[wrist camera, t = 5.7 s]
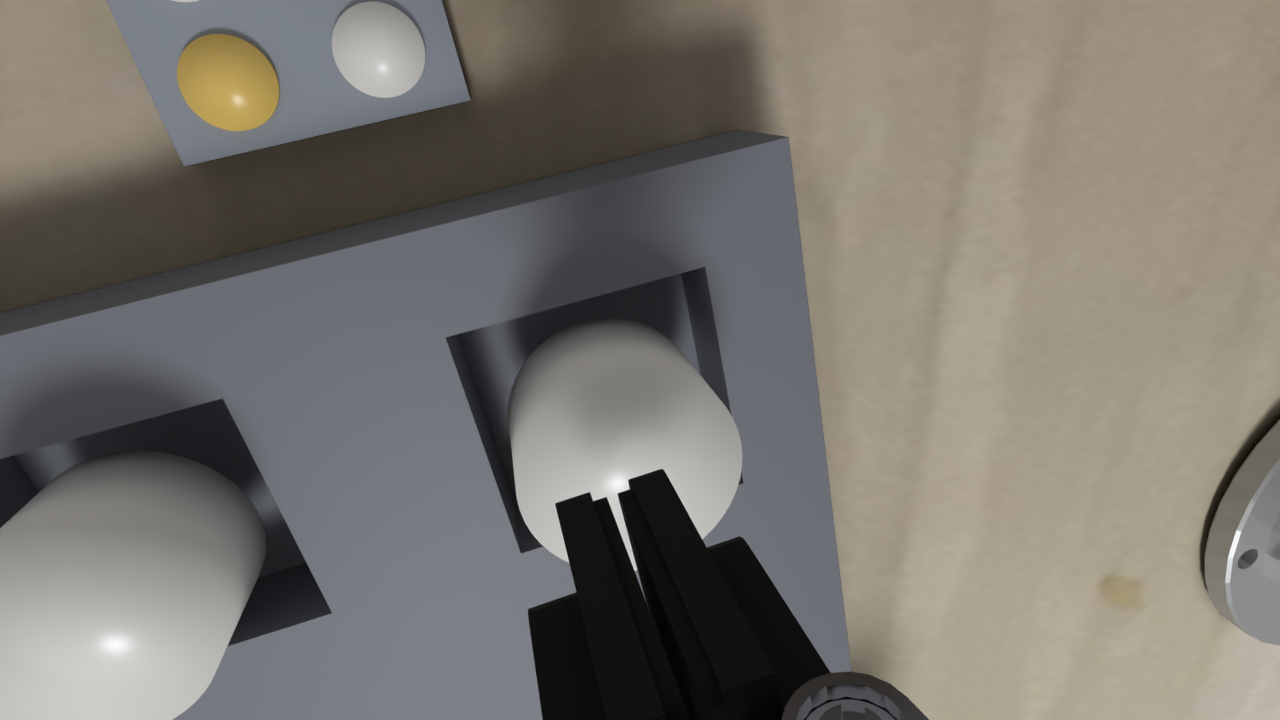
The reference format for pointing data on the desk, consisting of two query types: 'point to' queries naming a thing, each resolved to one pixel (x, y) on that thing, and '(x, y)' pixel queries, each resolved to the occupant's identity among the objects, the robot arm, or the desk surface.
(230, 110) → the pattern card
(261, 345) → the board
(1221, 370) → the desk surface
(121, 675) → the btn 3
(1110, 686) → the desk surface
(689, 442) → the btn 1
